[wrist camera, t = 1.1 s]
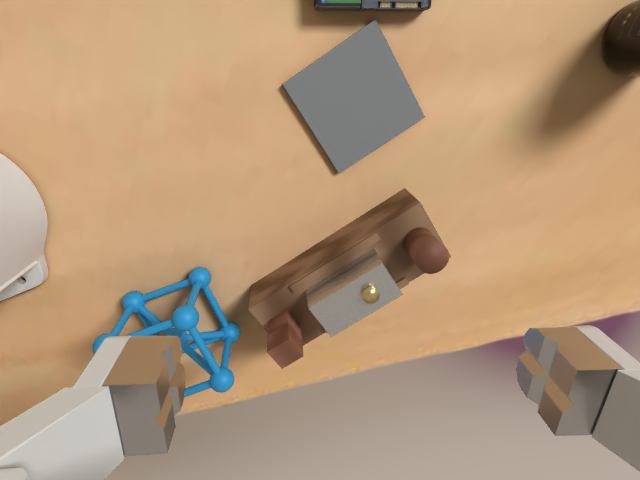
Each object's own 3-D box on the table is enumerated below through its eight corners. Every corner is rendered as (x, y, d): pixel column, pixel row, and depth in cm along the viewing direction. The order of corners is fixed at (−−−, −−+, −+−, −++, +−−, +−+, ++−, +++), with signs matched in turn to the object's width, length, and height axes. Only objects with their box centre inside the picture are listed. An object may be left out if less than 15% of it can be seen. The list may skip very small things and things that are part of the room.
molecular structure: (244, 331, 48) (237, 392, 39) (165, 359, 49) (140, 427, 40) (206, 260, 44) (189, 310, 35) (122, 291, 45) (82, 349, 36)
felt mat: (338, 171, 42) (339, 173, 41) (282, 84, 38) (282, 84, 38) (423, 116, 41) (425, 117, 40) (374, 20, 37) (375, 19, 36)
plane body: (286, 327, 49) (288, 388, 39) (250, 285, 46) (244, 339, 37) (433, 238, 46) (473, 280, 37) (404, 188, 43) (439, 220, 34)
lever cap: (326, 317, 43) (331, 340, 39) (305, 289, 41) (308, 312, 37) (393, 277, 42) (404, 297, 38) (373, 247, 40) (384, 266, 36)
